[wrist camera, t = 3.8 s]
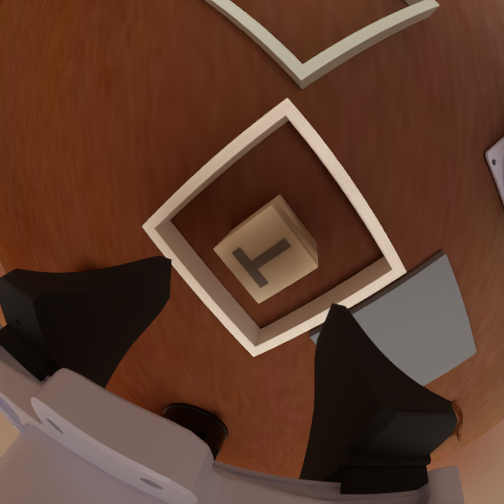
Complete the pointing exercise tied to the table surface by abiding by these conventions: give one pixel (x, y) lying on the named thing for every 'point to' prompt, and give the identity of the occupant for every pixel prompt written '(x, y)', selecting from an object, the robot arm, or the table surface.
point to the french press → (199, 424)
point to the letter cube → (269, 250)
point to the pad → (419, 321)
